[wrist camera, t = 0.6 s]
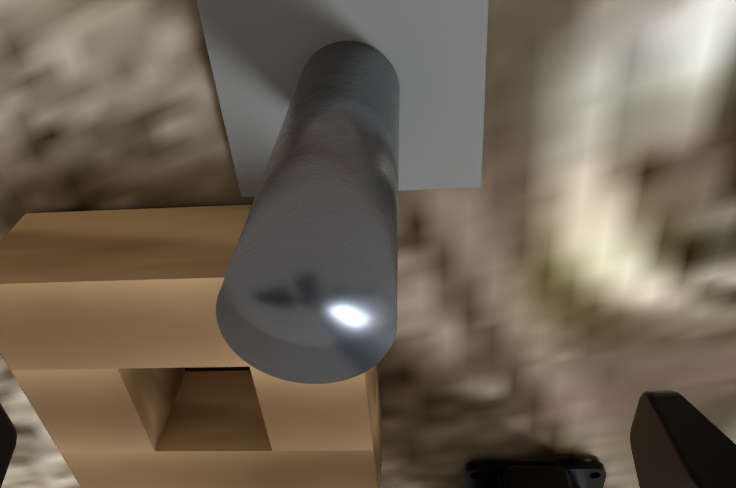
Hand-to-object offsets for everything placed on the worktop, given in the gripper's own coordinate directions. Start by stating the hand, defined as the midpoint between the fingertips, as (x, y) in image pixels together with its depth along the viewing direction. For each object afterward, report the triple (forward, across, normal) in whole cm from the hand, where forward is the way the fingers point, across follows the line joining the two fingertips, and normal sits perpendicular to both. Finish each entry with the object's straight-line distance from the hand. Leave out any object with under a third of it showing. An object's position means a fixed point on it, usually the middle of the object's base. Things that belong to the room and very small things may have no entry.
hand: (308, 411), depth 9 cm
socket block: (+12, +6, +10) cm, 17 cm away
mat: (+12, 0, 0) cm, 12 cm away
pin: (+12, 0, 0) cm, 12 cm away
